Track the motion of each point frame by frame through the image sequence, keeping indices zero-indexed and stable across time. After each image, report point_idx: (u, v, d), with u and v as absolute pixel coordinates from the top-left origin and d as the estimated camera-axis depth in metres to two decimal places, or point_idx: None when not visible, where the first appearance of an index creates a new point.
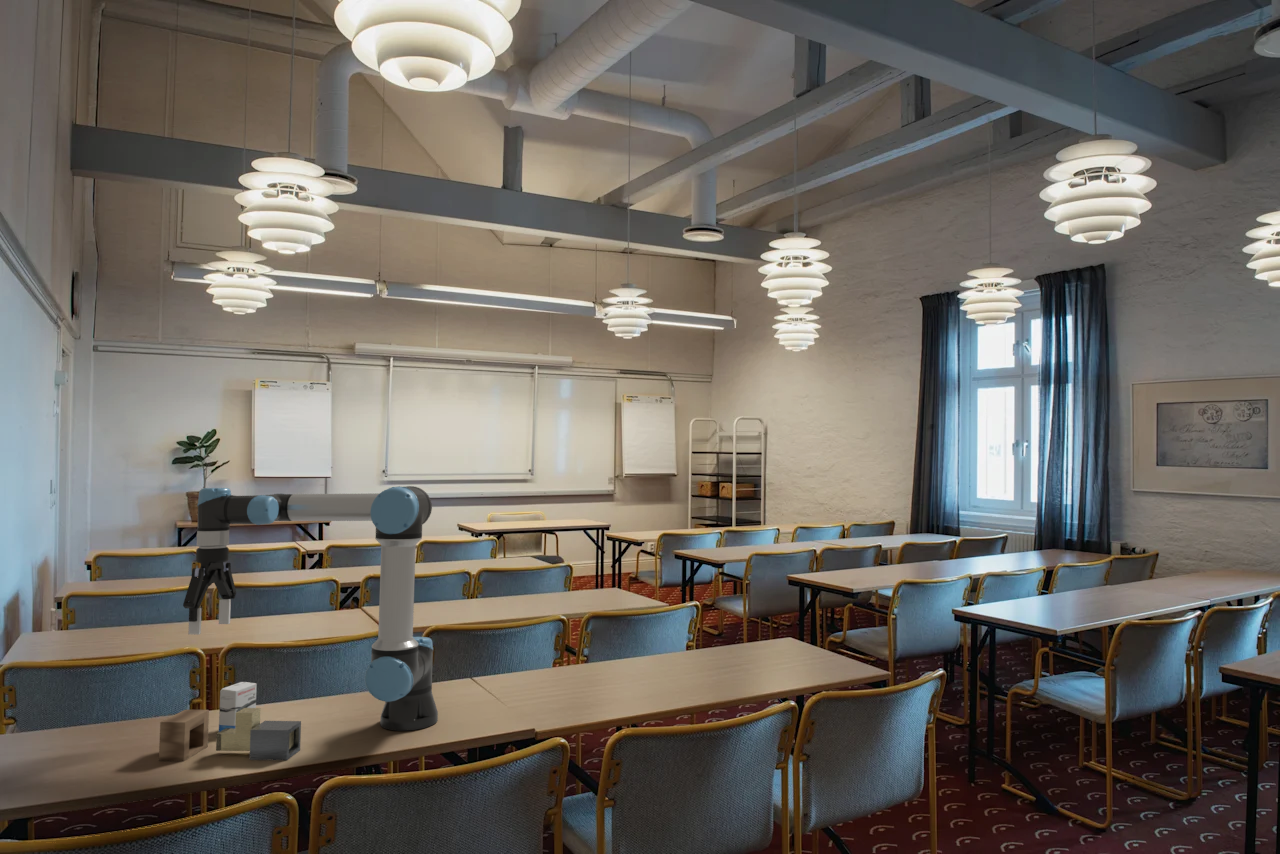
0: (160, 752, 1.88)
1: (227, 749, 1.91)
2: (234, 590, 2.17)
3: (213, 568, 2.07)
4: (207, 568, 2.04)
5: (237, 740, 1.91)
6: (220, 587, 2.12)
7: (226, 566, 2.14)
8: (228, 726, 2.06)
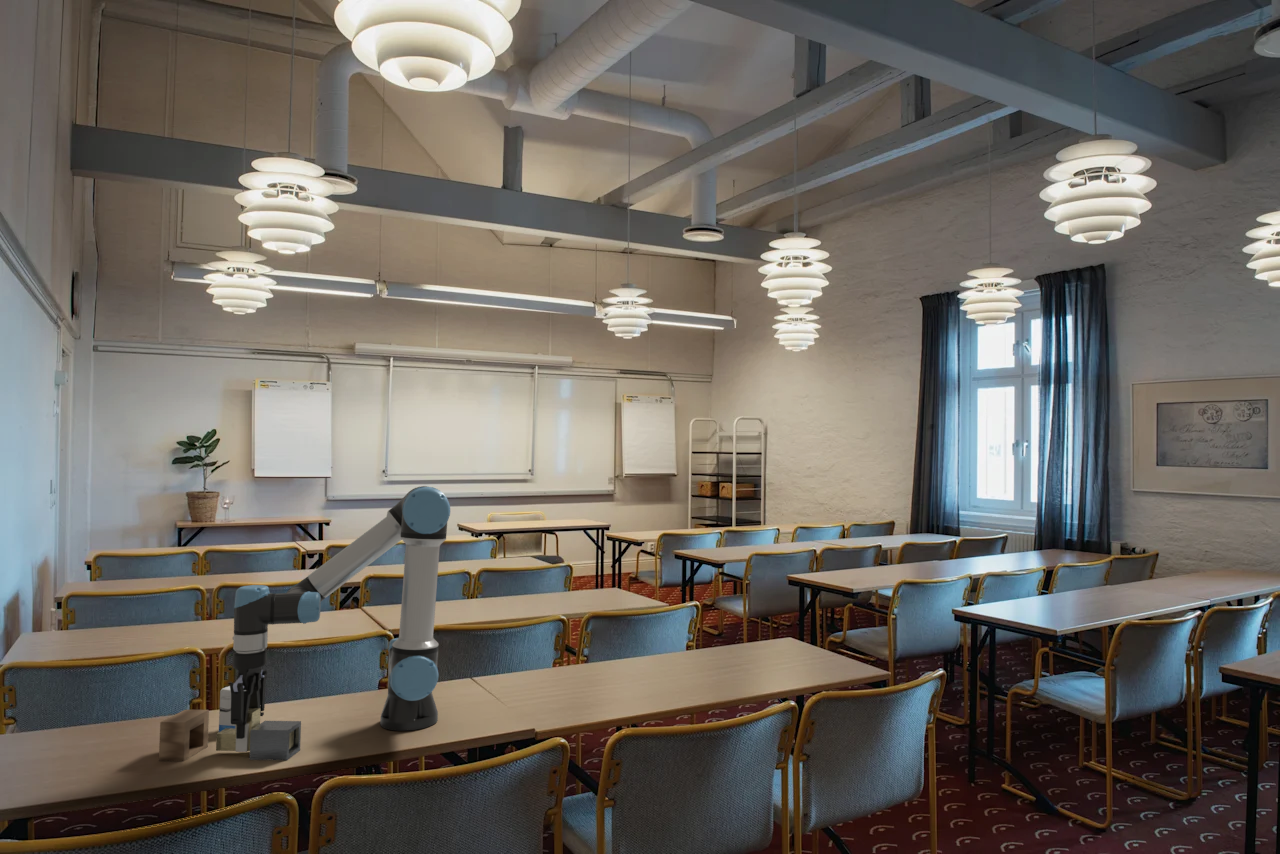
0: (160, 752, 1.88)
1: (227, 749, 1.91)
2: (263, 705, 1.99)
3: (250, 675, 1.92)
4: (244, 677, 1.90)
5: None
6: (252, 698, 1.95)
7: (262, 673, 1.99)
8: (228, 726, 2.06)
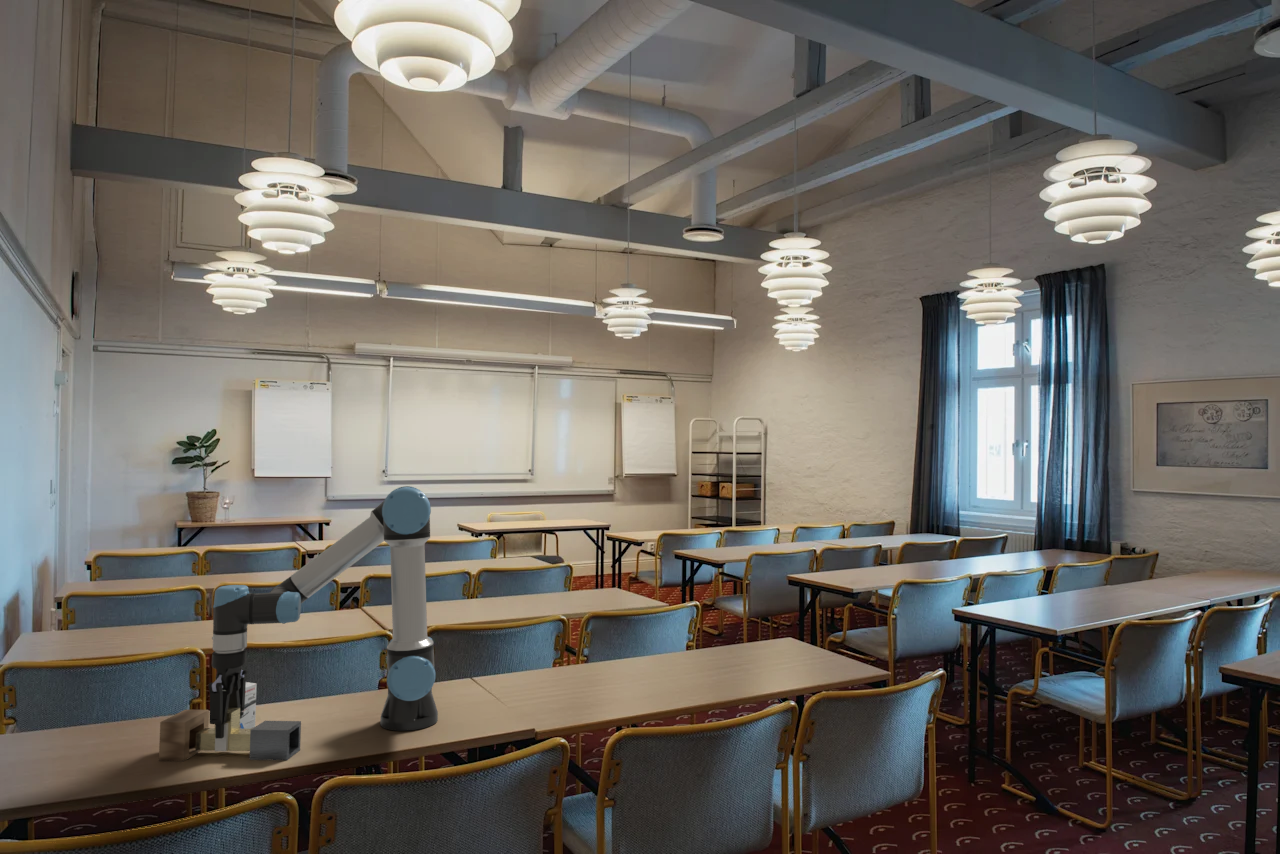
0: (160, 752, 1.88)
1: (207, 749, 1.91)
2: (243, 705, 1.99)
3: (229, 674, 1.92)
4: (223, 677, 1.90)
5: None
6: (231, 697, 1.96)
7: (242, 673, 1.99)
8: None
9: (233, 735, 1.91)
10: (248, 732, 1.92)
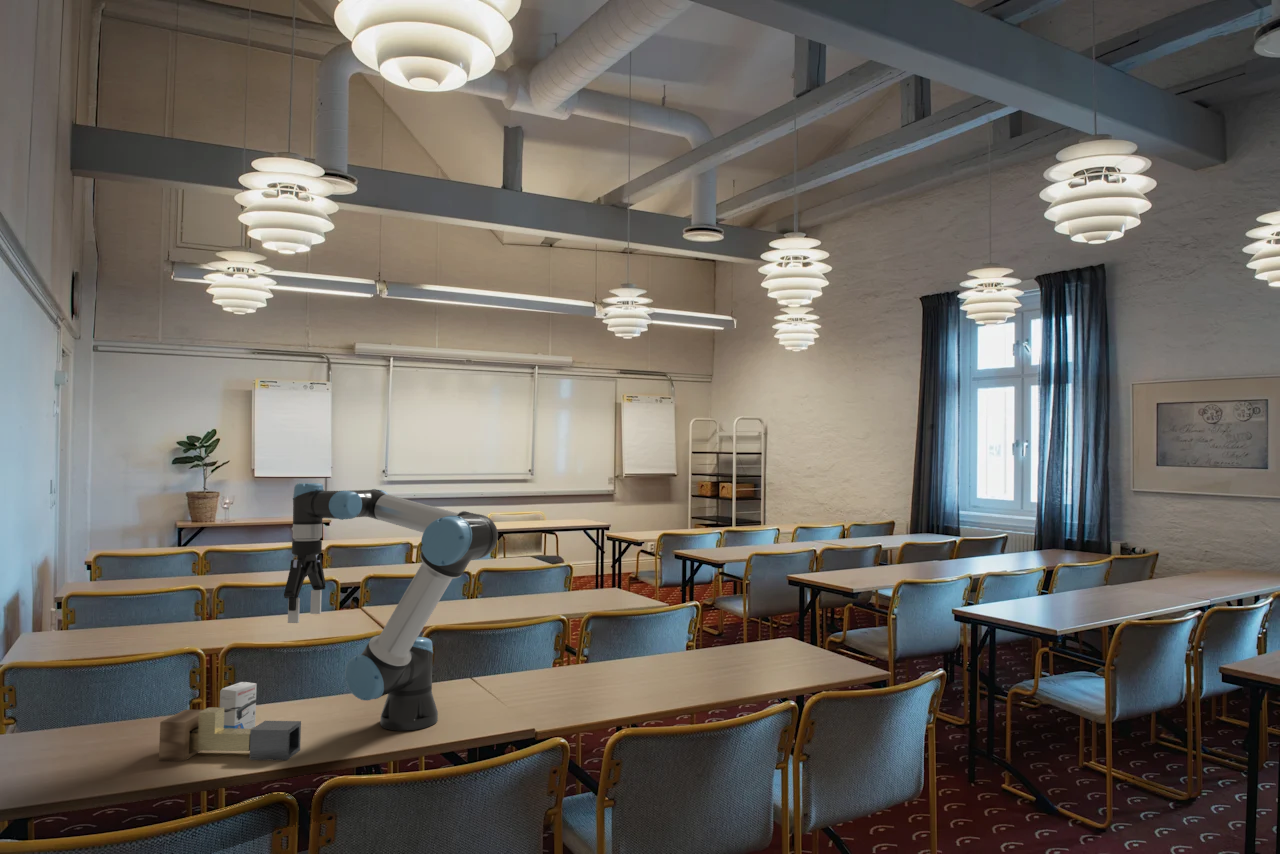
0: (160, 752, 1.88)
1: (190, 749, 1.91)
2: (324, 581, 2.26)
3: (308, 560, 2.16)
4: (303, 560, 2.13)
5: (201, 739, 1.91)
6: (312, 578, 2.21)
7: (317, 558, 2.23)
8: (228, 726, 2.06)
9: (217, 735, 1.91)
10: (232, 732, 1.92)
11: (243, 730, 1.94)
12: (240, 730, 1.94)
